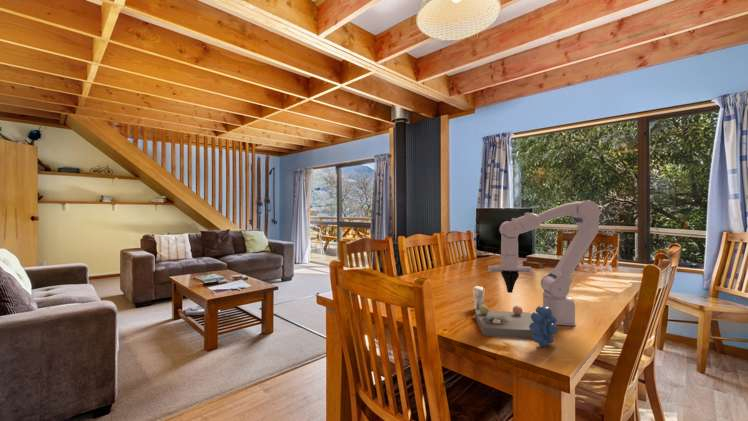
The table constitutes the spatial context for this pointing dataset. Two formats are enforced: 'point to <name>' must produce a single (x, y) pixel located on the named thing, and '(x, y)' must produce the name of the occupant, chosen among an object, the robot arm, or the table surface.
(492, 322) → the steel ball
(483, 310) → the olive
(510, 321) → the board
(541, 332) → the grapes
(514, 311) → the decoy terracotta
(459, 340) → the table surface
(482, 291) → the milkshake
